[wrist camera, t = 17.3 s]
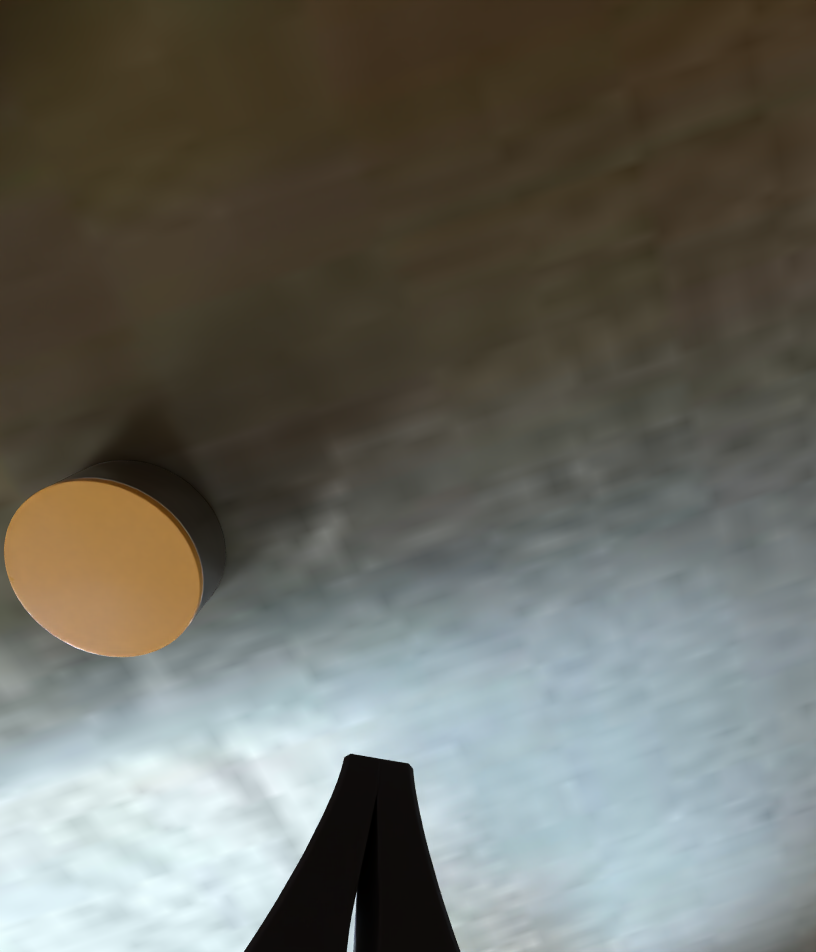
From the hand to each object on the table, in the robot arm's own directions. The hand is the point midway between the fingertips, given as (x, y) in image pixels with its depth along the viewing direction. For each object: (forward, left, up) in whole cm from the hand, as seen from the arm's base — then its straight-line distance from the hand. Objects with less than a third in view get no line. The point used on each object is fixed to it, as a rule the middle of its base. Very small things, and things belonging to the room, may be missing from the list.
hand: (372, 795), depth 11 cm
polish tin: (-10, -3, -10) cm, 15 cm away
